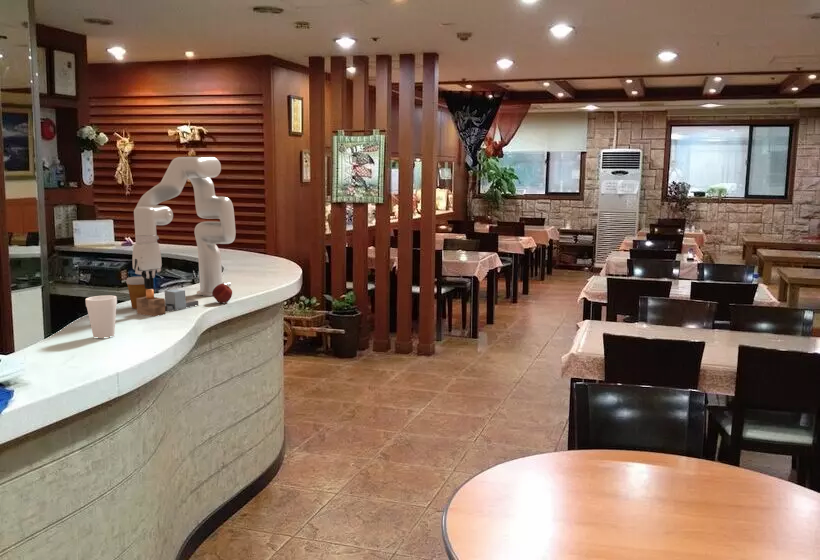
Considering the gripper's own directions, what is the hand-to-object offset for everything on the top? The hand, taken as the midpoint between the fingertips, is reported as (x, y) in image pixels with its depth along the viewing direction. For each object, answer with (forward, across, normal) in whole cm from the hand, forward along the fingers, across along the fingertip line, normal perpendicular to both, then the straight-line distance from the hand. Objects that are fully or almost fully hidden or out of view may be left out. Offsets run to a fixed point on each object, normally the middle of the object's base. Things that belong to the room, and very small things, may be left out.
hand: (149, 288), depth 279 cm
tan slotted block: (+10, 0, 0) cm, 10 cm away
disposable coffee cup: (+10, -7, -15) cm, 19 cm away
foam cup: (+10, +33, +19) cm, 39 cm away
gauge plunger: (+4, 0, 0) cm, 4 cm away
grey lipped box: (+10, -12, 0) cm, 15 cm away
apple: (+10, -30, +6) cm, 32 cm away
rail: (+10, -14, 0) cm, 17 cm away
